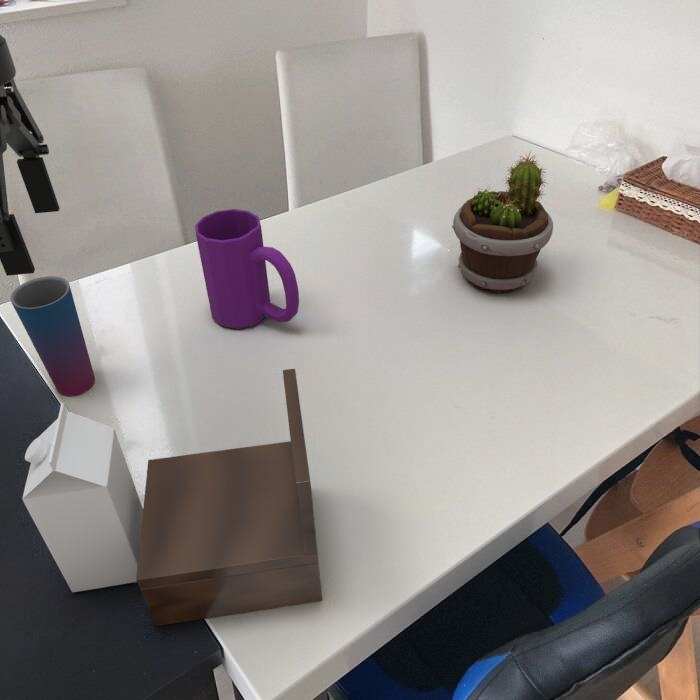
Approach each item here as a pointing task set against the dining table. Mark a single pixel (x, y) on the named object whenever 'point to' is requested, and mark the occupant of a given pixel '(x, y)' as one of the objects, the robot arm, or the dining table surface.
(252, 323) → the mug
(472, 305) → the dining table surface
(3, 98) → the robot arm
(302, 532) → the wooden box with backboard
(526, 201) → the flowerpot
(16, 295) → the cup
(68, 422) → the milk carton
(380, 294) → the dining table surface
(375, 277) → the dining table surface
